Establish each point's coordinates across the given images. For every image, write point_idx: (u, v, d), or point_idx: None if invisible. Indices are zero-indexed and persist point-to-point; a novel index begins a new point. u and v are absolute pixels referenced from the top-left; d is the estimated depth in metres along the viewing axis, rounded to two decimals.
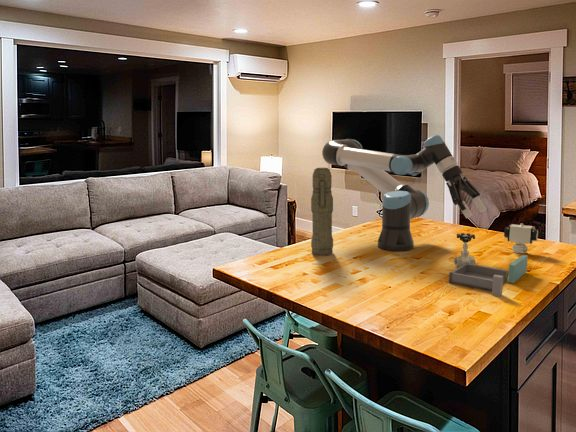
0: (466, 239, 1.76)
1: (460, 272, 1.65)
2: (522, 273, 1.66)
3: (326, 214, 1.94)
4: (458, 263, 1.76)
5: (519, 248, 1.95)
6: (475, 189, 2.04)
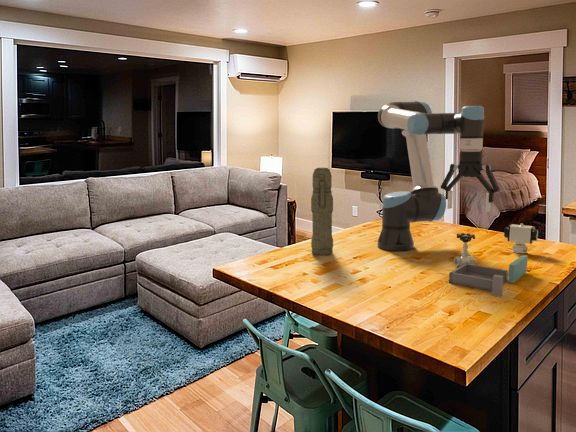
0: (466, 239, 1.76)
1: (460, 272, 1.65)
2: (522, 273, 1.66)
3: (326, 214, 1.94)
4: (458, 263, 1.76)
5: (519, 248, 1.95)
6: (493, 185, 1.67)
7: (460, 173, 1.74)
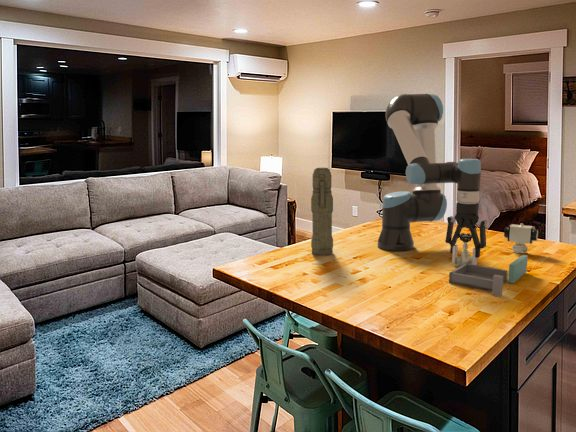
0: (466, 239, 1.76)
1: (460, 272, 1.65)
2: (522, 273, 1.66)
3: (326, 214, 1.94)
4: (458, 263, 1.76)
5: (519, 248, 1.95)
6: (481, 241, 1.72)
7: (458, 225, 1.76)
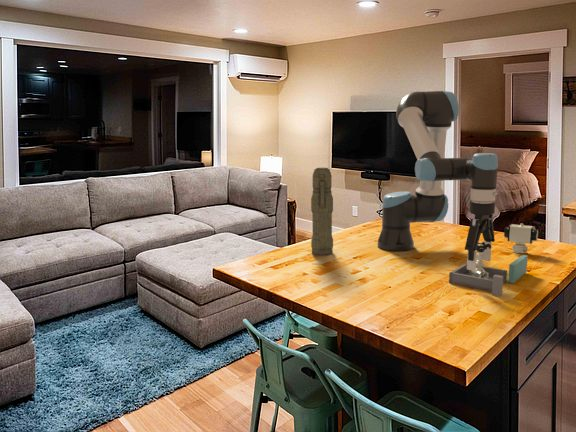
0: None
1: (460, 272, 1.65)
2: (522, 273, 1.66)
3: (326, 214, 1.94)
4: None
5: (519, 248, 1.95)
6: (493, 232, 1.65)
7: (483, 228, 1.55)
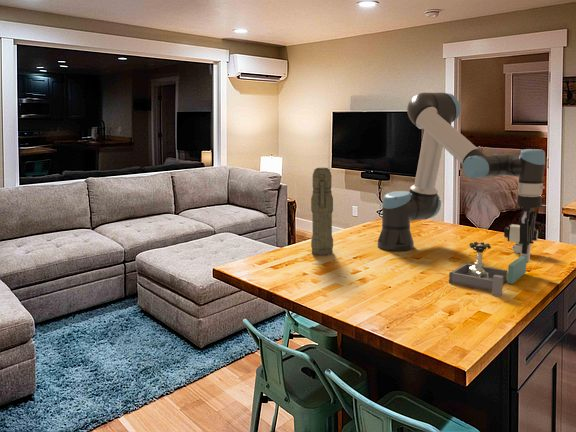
0: None
1: (460, 272, 1.65)
2: (521, 274, 1.66)
3: (326, 214, 1.94)
4: None
5: (519, 248, 1.95)
6: (533, 233, 1.70)
7: (532, 221, 1.65)
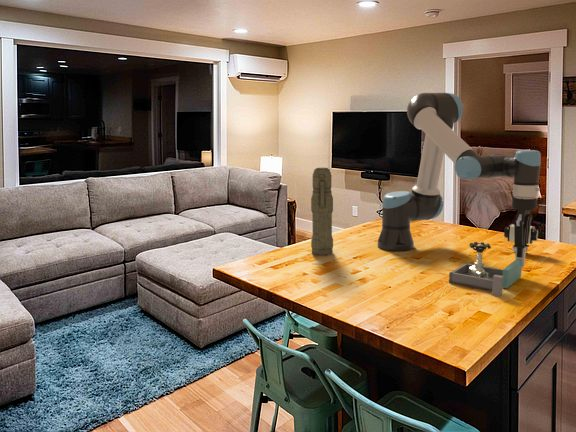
0: None
1: (460, 272, 1.65)
2: (516, 278, 1.61)
3: (326, 214, 1.94)
4: None
5: None
6: (528, 236, 1.65)
7: (527, 223, 1.60)
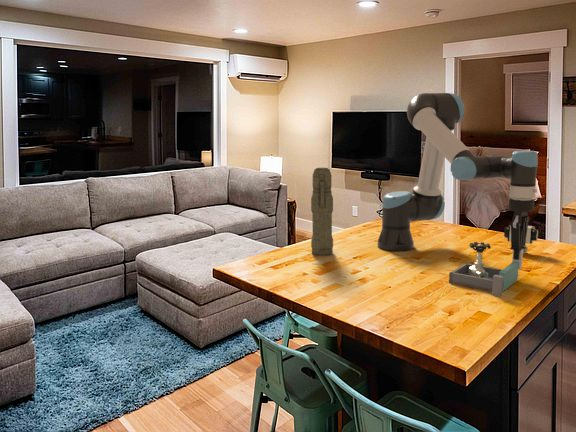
0: None
1: (460, 272, 1.65)
2: (513, 280, 1.59)
3: (326, 214, 1.94)
4: None
5: None
6: (525, 238, 1.63)
7: (524, 225, 1.58)
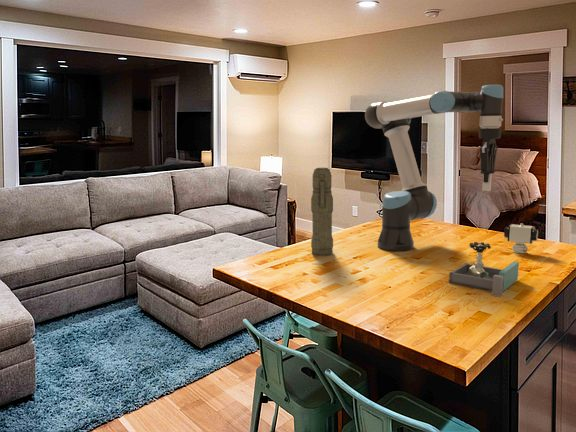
0: None
1: (460, 272, 1.65)
2: (513, 280, 1.59)
3: (326, 214, 1.94)
4: None
5: (519, 248, 1.95)
6: (494, 164, 1.85)
7: (492, 151, 1.80)
